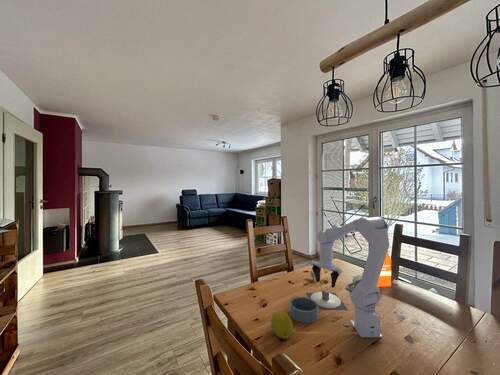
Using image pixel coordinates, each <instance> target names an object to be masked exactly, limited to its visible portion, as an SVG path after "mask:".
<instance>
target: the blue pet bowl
mask: <svg viewBox="0 0 500 375" xmlns="http://www.w3.org/2000/svg"><path fill="white" fill-rule="evenodd" d="M288 304H289V305H288V306H289V309H288V310H289V317H290V318H291V319H293V320H294V321H295V322H299V323H302V324H311V323H315V322H317V321H318V318H319V311H320V310H319V306H318V304H317V302H315V301H314V300H312V299H310V298H308V297H307V296H306V297H305V296H295V297H293V298H291V299H290V301H289V303H288Z"/></svg>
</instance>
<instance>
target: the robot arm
mask: <svg viewBox="0 0 500 375" xmlns="http://www.w3.org/2000/svg"><path fill="white" fill-rule="evenodd" d="M389 228H390V226H389V224H388V222H387V221H386V220H385V219H384V218H383V217H381V216H374V217H373V216H372V217H360V218H359V219H358V218H356V219H354V220H352V221H350V222H348V223H346V224H343V225H342V226H341V225H340V224H339V225H337V224H334V225H332V227H330V228H328V227H327V228H326V229H325V230H320V231H319V232H318V233H317V234H316V238H317V241H318V243H319V261H318V260H317V261H316V260H312V261H311V262H310V264H311V266H312V267H311V271H312V272H314V274H315V277H316V281H317V282H316V283H319V282H321V270H322V269H324V270H326V271H331V272H330V280H331V285H330V287H331V288H335V287H336V284H337V283H336V282H337V280H338V278H339V276H340V275H341V274H342V273H343V272H342V270H343V268H340V267H338V266H335V265H333V247H334V244H335V241H337V240H340V239H343V238H345V236H346V234H349V233H352V232H354V231H355V232H358V233H359V234H360V235H361V236H362V238H364V240H366V242H367V243H368V244H370V247H369V250H368V251H369V252H368V254H367V258H366V260H365V264H364V268H363V272H362V275H361V276H362V278H361V281H360V282H359V283H358V284H357V285H356V286H355V288H354V290H352V291H351V292H350V295H349V296H350V297H349V298H350V300H351V303H352V304H353V306H354V317H353V318H354V319H353V320H350V321H349V322H350V323H351V324H352V327H354V328H355V330H356V331H357V333H358V335H359V336H360V337H361V338H383V334H382V333H381V320H380V317H379V316H378V313H377V311H376V307H377V303H379V302H380V300H381V296H380V290H381V289H380V288H381V287H378V286H377V283H378V280H379V277H380V274H381V270H382V267H383V264H384V261H385V258H386V254H387V251H388V250H389V247H390V240H389V233H388V232H389ZM388 252H389V251H388Z"/></svg>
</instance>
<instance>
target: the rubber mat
mask: <svg viewBox="0 0 500 375" xmlns="http://www.w3.org/2000/svg"><path fill="white" fill-rule="evenodd" d="M313 293H314V292H305V294H306V295H307V296H306V297H307V298H310V299H311V295H312V294H313ZM329 293H330V294H333V295H335V296H337V297H338V298H339V296H338V294H337V293H335V292H329ZM339 299H340V298H339ZM340 301H341V305H340V306H339V307H338V308H334V309H327V308H322V307H319V311H323V310H324V311H331V310H332V311H348V310H349V309H348V308H347V306H346V305H345V304H344V302H343V301H342V300H341V299H340Z"/></svg>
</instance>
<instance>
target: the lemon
mask: <svg viewBox="0 0 500 375" xmlns="http://www.w3.org/2000/svg"><path fill="white" fill-rule="evenodd" d="M270 323H271V329H272V331H273V333H274V334H275V335H276V336H277V338H280V339H283V340H286V339H288V338H290V337H291V335H292V334H293V329H294V323H293V320H292V318H291V316H290V315H288V313H286V312H284V311H282V310H279V311H275V312H274V313H273V315H272V318H271V322H270Z"/></svg>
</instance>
